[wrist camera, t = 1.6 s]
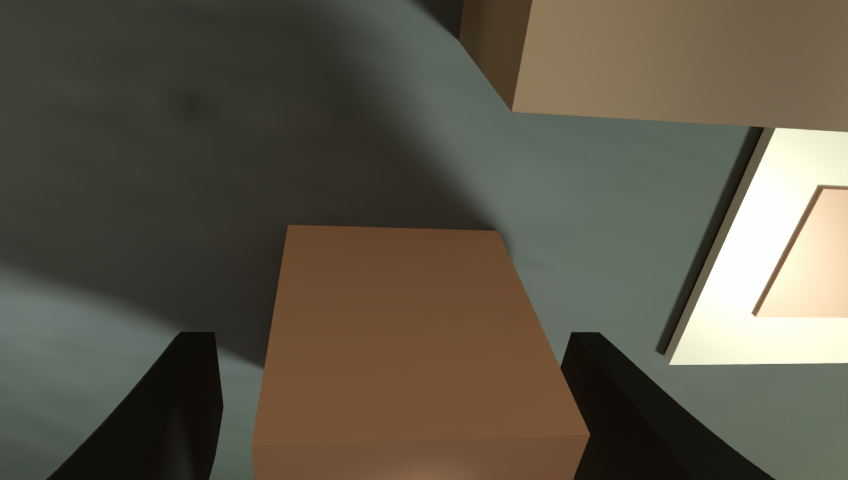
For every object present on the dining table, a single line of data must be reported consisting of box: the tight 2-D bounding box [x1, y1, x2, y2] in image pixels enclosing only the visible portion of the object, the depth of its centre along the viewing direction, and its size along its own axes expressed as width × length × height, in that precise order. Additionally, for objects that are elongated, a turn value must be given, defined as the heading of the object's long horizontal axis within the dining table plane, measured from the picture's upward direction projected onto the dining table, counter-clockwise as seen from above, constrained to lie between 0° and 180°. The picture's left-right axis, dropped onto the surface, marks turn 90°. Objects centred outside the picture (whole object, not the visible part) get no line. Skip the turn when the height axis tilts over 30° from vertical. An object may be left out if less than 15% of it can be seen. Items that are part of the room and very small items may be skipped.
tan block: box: [252, 225, 590, 480], centre depth 11 cm, size 4×4×6 cm
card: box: [664, 127, 848, 365], centre depth 14 cm, size 7×7×1 cm
